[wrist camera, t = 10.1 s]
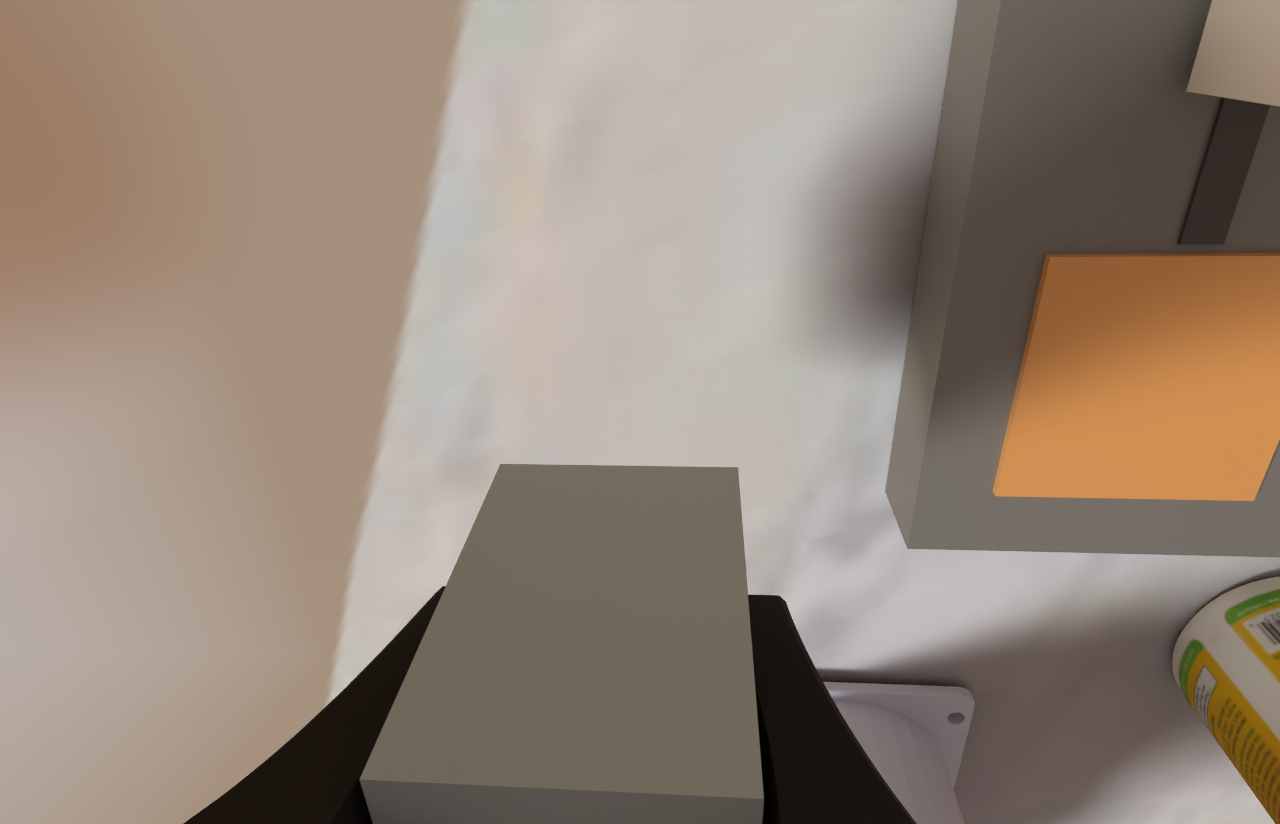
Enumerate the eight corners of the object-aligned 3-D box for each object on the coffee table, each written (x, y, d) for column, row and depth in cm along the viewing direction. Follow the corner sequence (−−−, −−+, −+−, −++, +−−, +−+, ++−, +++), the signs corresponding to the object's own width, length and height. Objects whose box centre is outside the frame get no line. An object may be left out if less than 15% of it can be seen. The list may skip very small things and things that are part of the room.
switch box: (1234, 497, 20) (1308, 565, 18) (885, 491, 21) (910, 556, 18) (1446, -28, 14) (1599, -36, 12) (959, -12, 15) (1010, -18, 13)
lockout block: (730, 646, 14) (748, 1015, 9) (523, 639, 15) (423, 991, 9) (737, 467, 13) (764, 798, 7) (500, 463, 13) (359, 778, 8)
